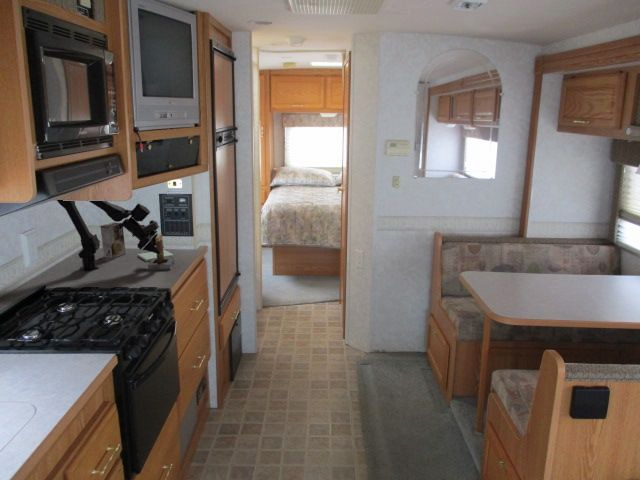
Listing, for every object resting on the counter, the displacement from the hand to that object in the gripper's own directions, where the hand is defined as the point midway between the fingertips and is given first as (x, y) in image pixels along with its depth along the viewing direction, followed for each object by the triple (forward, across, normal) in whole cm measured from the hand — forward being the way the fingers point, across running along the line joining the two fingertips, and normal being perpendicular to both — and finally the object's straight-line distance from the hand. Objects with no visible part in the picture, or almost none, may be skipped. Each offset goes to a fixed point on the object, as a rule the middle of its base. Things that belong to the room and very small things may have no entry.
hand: (161, 250), depth 253 cm
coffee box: (-14, +22, +25) cm, 36 cm away
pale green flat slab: (+1, +17, +10) cm, 20 cm away
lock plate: (+5, 0, +6) cm, 8 cm away
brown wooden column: (+5, 0, +6) cm, 8 cm away
